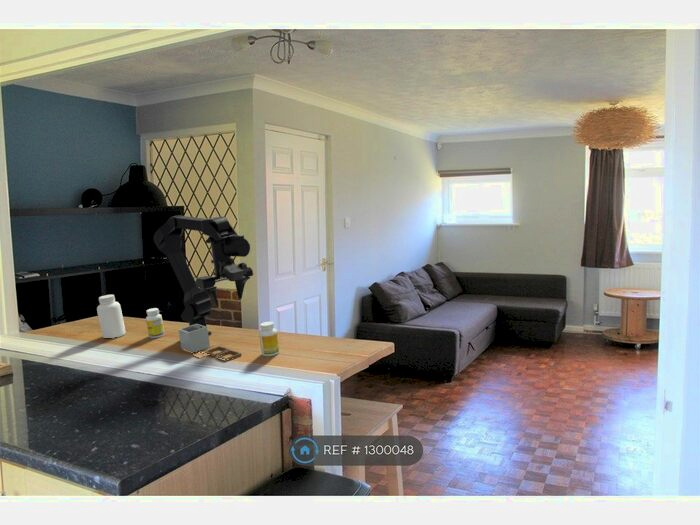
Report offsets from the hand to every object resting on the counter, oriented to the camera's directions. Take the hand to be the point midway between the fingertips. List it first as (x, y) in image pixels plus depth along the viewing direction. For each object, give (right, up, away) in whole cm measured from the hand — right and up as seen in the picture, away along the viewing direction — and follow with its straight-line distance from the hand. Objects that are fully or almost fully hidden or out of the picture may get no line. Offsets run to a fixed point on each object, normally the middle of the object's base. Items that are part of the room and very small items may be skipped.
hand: (228, 302), depth 184 cm
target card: (-7, -16, -9) cm, 20 cm away
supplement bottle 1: (-29, -13, +15) cm, 35 cm away
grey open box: (-10, -15, -3) cm, 18 cm away
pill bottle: (-46, -14, +21) cm, 53 cm away
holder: (0, -15, -11) cm, 19 cm away
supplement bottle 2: (+16, -15, -14) cm, 26 cm away
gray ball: (-11, -11, -4) cm, 16 cm away
